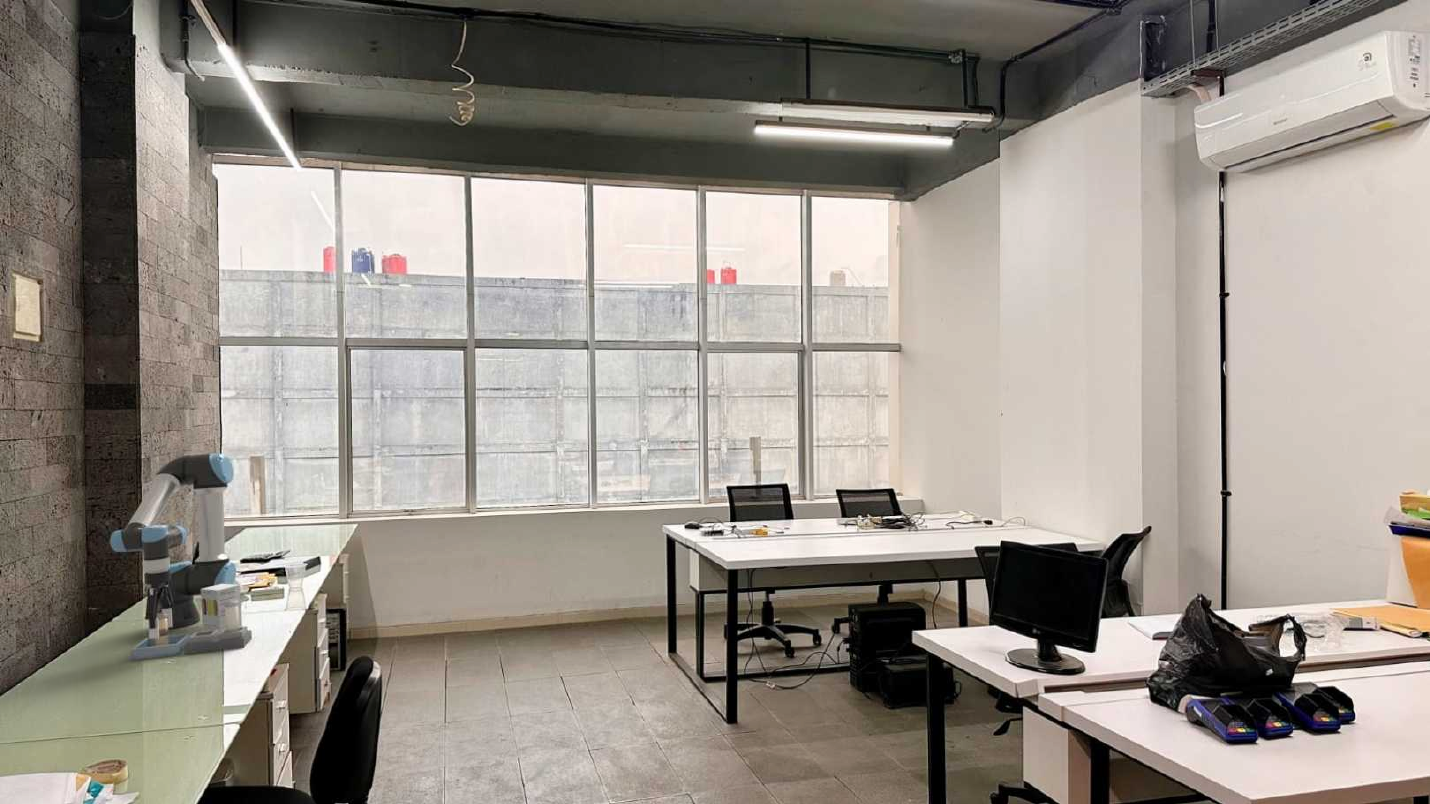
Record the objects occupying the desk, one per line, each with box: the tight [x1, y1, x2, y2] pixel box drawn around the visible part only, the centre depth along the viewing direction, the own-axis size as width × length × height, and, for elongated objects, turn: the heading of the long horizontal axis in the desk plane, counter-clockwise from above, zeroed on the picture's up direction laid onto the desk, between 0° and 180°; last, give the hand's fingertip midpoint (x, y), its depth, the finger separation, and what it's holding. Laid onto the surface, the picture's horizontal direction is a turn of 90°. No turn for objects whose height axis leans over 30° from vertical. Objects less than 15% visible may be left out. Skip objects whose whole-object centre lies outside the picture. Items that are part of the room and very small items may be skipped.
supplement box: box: [200, 584, 243, 633], centre depth 321 cm, size 10×9×17 cm
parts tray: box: [130, 633, 192, 661], centre depth 299 cm, size 14×14×4 cm
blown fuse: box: [155, 613, 169, 646], centre depth 299 cm, size 4×4×12 cm
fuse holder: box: [184, 600, 253, 655], centre depth 302 cm, size 11×18×15 cm, turn 106°
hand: (161, 632), depth 299 cm, fingers open, 13 cm apart
